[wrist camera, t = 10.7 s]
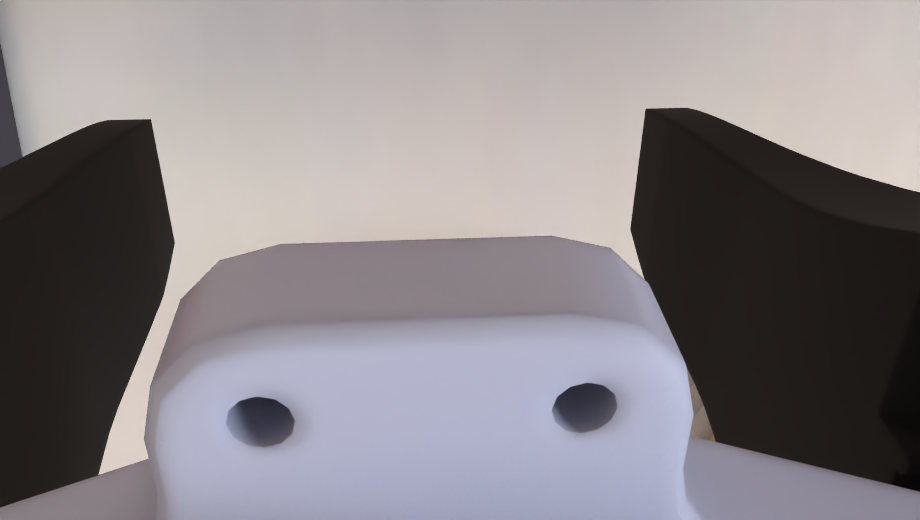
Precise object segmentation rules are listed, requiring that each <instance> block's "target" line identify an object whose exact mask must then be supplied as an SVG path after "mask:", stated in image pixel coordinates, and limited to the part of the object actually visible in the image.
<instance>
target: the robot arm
mask: <svg viewBox="0 0 920 520" xmlns="http://www.w3.org/2000/svg"><path fill="white" fill-rule="evenodd" d="M631 233H632V237H633V240H634V244H635V248H636V252H637V256H638V259H639V262H640V266H641V269H642V272H643V275H644V279H645V280H644V279H643V278H642V277H641V276H640V275H639V274H638V273H637V272H636V271H635V270H634V269H632V268H631V267H630V266H629V265H628V264H627V263H626V262H625V261H624V260H623V259H622V258H621V257H620V256H618V255H617V254H616V253H615V252H614V251H613V250H612V249H611V248H608V247H603V246H598V245H594V244H589V243H584V242H579V241H574V240H569V239H564V238H560V237H555V236H530V237H497V238H465V239H432V240H400V241H367V242H335V243H302V244H279V245H276V246H272V247H268V248H264V249H261V250H257V251H253V252H249V253H246V254H242V255H238V256H234V257H230V258H227V259H223V260H219V262H218V263H217V264H216V265H215V266H214V267H213V268H212V269H211V270H210V271H209V272H208V273H207V274H206V275H205V276H204V277H203V278H202V279H201V280H200V281H199V282H198V283H197V284H196V285H195V286H194V287H193V288H192V289H191V290H190V291H189V292H188V293H187V294H186V295H185V296H184V297H183V298H182V299H181V300H180V303H179V306H178V309H177V311H176V314H175V317H174V320H173V323H172V326H171V329H170V331H169V334H168V337H167V340H166V343H165V346H164V349H163V351H162V354H161V357H160V360H159V363H158V366H157V368H156V371H155V374H154V377H153V380H152V383H151V386H150V393H149V401H148V409H147V418H146V426H145V435H144V441H145V445H146V449H147V453H148V457H149V459H146V460H143V461H140V462H137V463H134V464H131V465H128V466H125V467H122V468H119V469H116V470H113V471H110V472H107V473H104V474H101V475H98V474H99V470H100V466H101V462H102V459H103V455H104V451H105V447H106V443H107V440H108V436H109V432H110V429H111V427H112V424H113V421H114V418H115V415H116V412H117V409H118V406H119V404H120V402H121V399H122V397H123V394H124V392H125V389H126V387H127V385H128V382H129V380H130V377H131V375H132V372H133V370H134V367H135V365H136V363H137V360H138V358H139V355H140V353H141V350H142V348H143V346H144V343H145V341H146V338H147V336H148V333H149V331H150V328H151V326H152V323H153V321H154V318H155V316H156V313H157V311H158V308H159V306H160V303H161V300H162V298H163V295H164V291H165V286H166V282H167V278H168V274H169V269H170V264H171V259H172V254H173V249H174V244H175V242H174V237H173V232H172V226H171V221H170V216H169V211H168V206H167V201H166V195H165V190H164V185H163V180H162V175H161V170H160V164H159V159H158V154H157V149H156V144H155V139H154V133H153V128H152V123H151V119H145V120H107V121H103V122H98V123H95V124H92V125H90V126H87V127H85V128H83V129H80V130H78V131H76V132H74V133H72V134H69V135H67V136H65V137H63V138H61V139H59V140H57V141H55V142H53V143H51V144H49V145H47V146H45V147H43V148H41V149H39V150H37V151H35V152H33V153H31V154H28V155H26V156H24V157H22V158H20V159H18V160H16V161H14V162H12V163H10V164H8V165H6V166H3V167H1V168H0V520H920V192H916V191H912V190H907V189H903V188H900V187H896V186H893V185H889V184H886V183H883V182H879V181H876V180H872V179H869V178H865V177H862V176H859V175H856V174H853V173H850V172H847V171H844V170H841V169H838V168H835V167H833V166H830V165H828V164H825V163H822V162H820V161H817V160H814V159H812V158H809V157H807V156H804V155H802V154H799V153H797V152H794V151H792V150H790V149H787V148H785V147H783V146H780V145H778V144H776V143H773V142H771V141H769V140H767V139H764V138H762V137H760V136H758V135H755V134H753V133H751V132H749V131H747V130H744V129H742V128H740V127H738V126H735V125H733V124H731V123H729V122H726V121H724V120H722V119H719V118H717V117H714V116H712V115H709V114H707V113H704V112H701V111H698V110H694V109H689V108H660V109H646V111H645V118H644V126H643V134H642V142H641V150H640V158H639V166H638V173H637V181H636V189H635V197H634V205H633V213H632V221H631ZM686 367H687V368H686ZM687 369H688V371H689V373H690V375H691V377H692V379H693V382H694V384H695V386H696V388H697V391H698V393H699V396H700V398H701V400H702V403H703V405H704V408H705V411H706V414H707V417H708V420H709V423H710V426H711V429H712V432H713V435H714V438H715V441H716V442H714V441H710V440H706V439H701V438H697V437H693V436H689V435H690V430H691V425H692V420H693V415H694V413H693V407H692V400H691V394H690V387H689V381H688V374H687Z"/></svg>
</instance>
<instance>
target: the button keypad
mask: <svg viewBox="0 0 920 520" xmlns="http://www.w3.org/2000/svg"><path fill="white" fill-rule="evenodd" d="M20 158H22V155H21V149H20V144H19V139H18V134H17V129H16V123H15V118H14V113H13V108H12V103H11V97H10V92H9V87H8V82H7V77H6V71H5V66H4V61H3V56H2V51H1V45H0V168H1V167H3V166H6V165H8V164H10V163H12V162H14V161H16V160H18V159H20Z"/></svg>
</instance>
